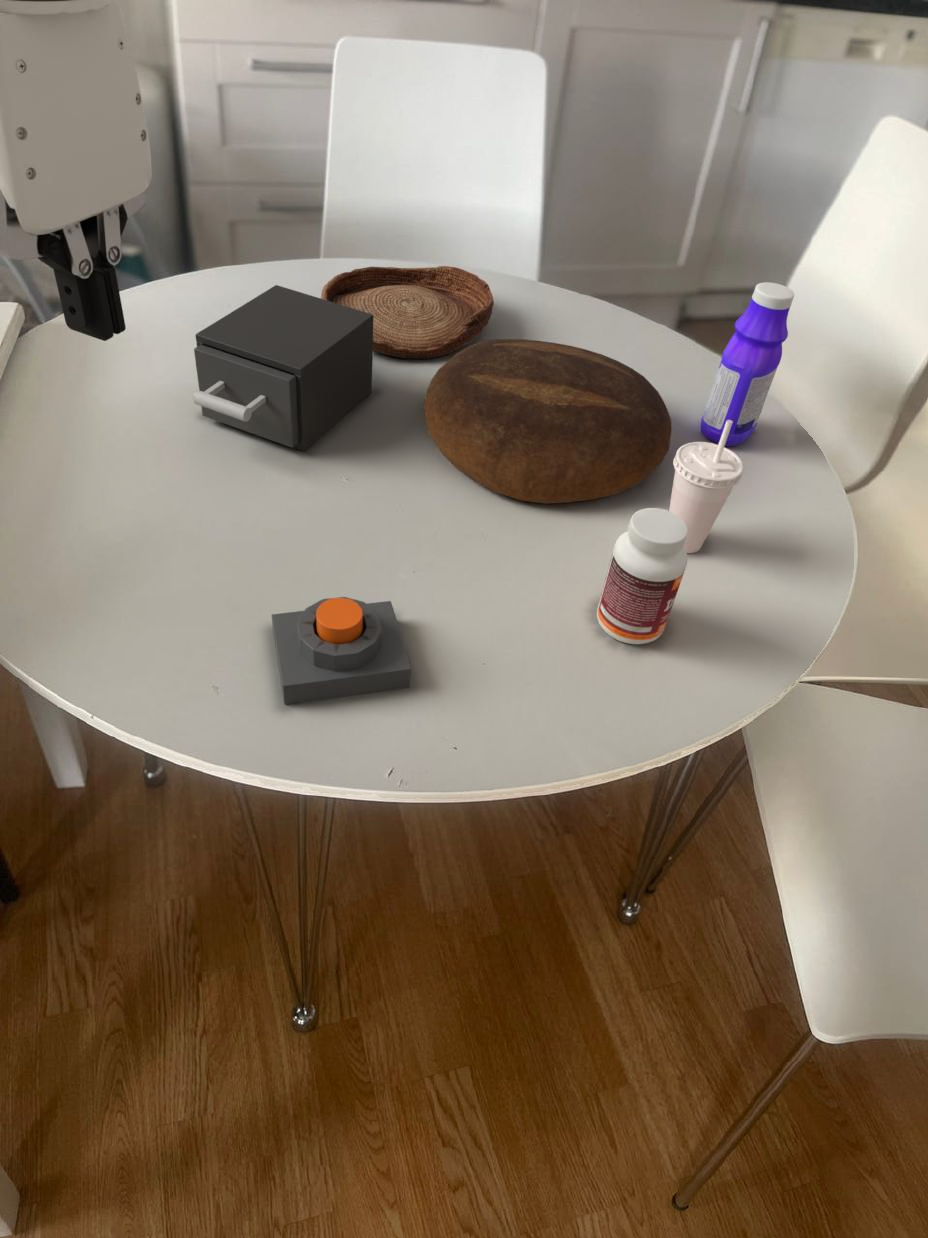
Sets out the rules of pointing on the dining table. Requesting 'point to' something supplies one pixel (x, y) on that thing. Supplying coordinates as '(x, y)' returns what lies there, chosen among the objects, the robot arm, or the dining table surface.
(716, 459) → the smoothie
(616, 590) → the pill bottle
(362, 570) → the dining table surface
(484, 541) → the dining table surface
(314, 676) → the control block
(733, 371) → the bottle
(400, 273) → the basket
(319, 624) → the button
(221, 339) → the grey drawer cabinet
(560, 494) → the bread
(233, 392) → the fryer drawer
